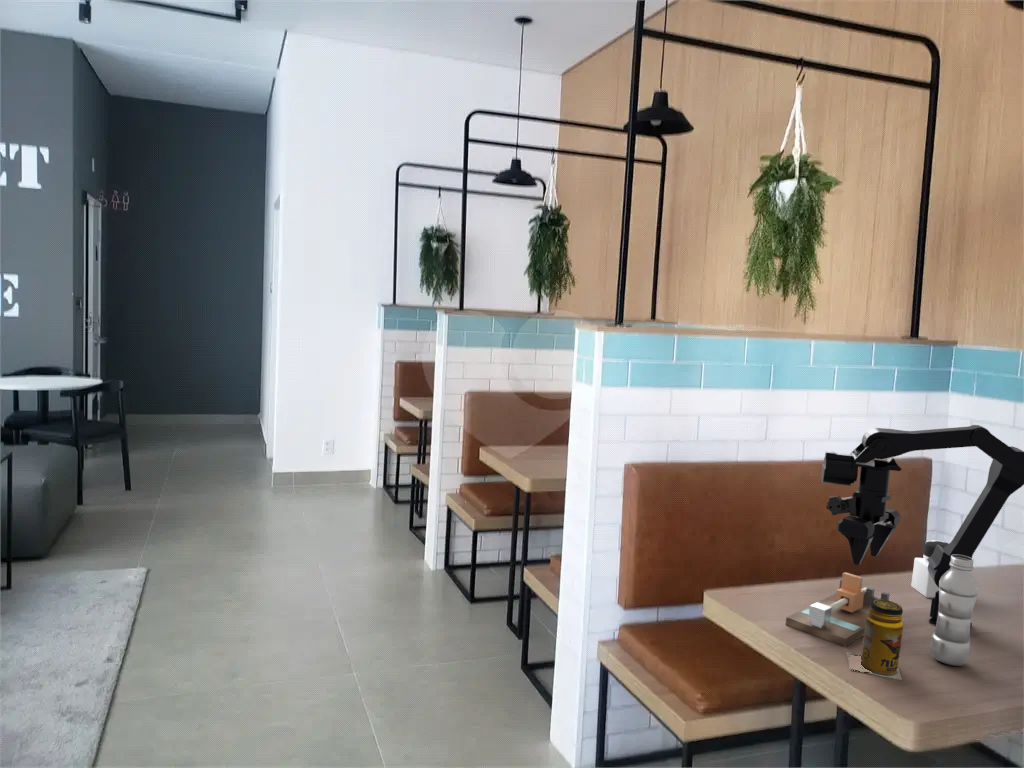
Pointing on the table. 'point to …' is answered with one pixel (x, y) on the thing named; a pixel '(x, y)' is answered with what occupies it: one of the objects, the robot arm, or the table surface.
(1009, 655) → the table surface
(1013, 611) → the table surface
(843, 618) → the cord board
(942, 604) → the plastic bottle
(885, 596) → the cable comb
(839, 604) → the cord
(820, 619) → the block
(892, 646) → the condiment
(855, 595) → the orange stepped block
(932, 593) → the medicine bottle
